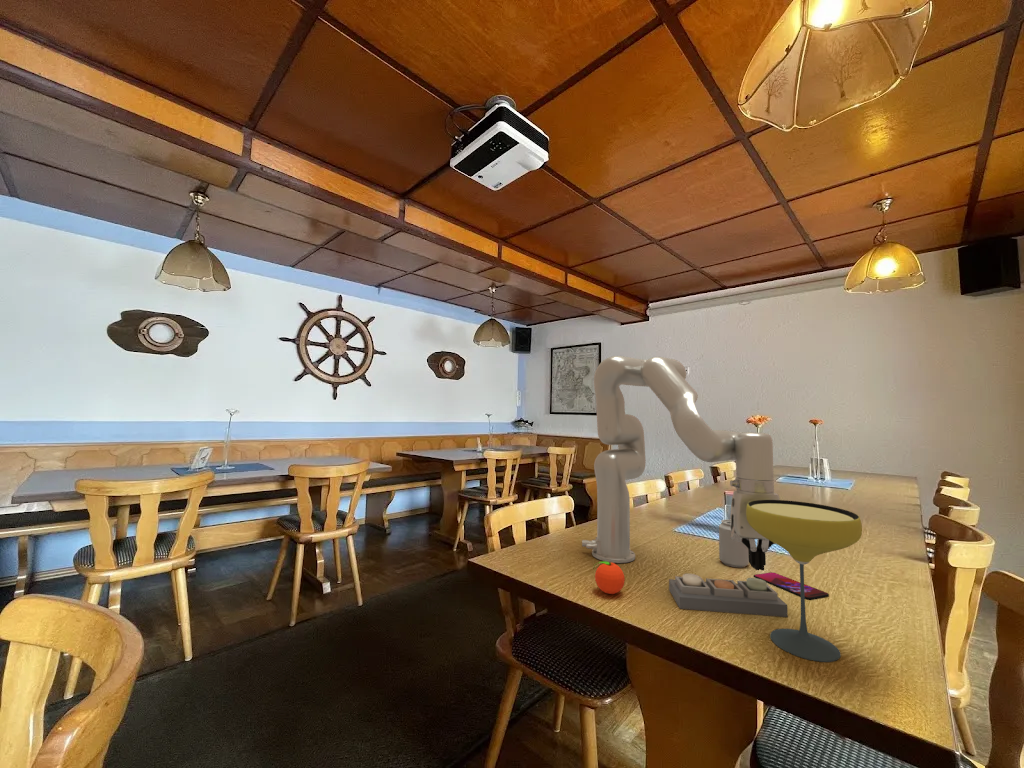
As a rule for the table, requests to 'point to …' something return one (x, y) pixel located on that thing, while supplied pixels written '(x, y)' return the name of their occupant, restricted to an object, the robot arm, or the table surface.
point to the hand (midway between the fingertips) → (757, 568)
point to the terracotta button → (723, 584)
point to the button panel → (727, 598)
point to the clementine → (609, 577)
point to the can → (731, 548)
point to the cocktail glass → (804, 556)
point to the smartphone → (791, 586)
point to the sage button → (756, 584)
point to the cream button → (692, 580)
